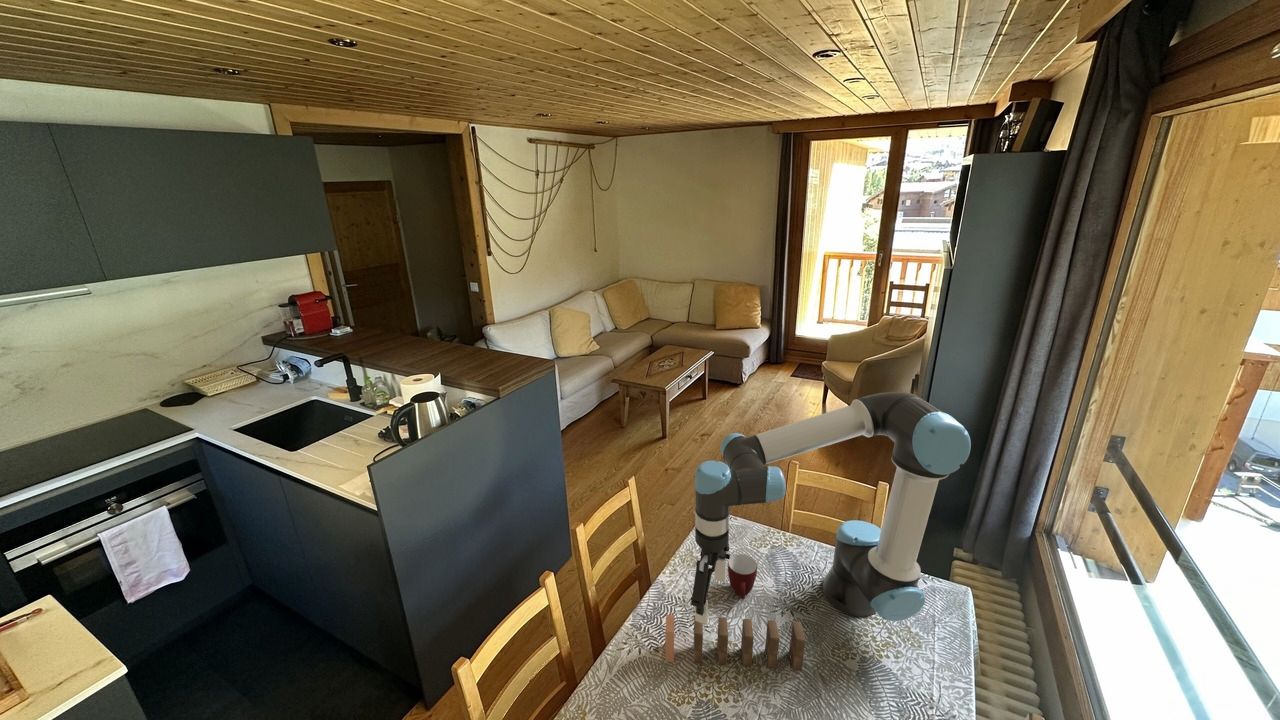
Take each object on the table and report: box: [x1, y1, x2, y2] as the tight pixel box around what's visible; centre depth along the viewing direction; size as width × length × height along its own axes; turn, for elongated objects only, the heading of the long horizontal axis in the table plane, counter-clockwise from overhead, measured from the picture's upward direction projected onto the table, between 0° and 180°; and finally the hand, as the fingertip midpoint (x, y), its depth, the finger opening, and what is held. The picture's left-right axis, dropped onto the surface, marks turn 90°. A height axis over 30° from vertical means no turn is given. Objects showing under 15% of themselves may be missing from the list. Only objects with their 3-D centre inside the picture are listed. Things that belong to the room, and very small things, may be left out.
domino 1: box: [664, 614, 675, 663], centre depth 123 cm, size 2×5×10 cm, turn 175°
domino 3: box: [716, 617, 729, 667], centre depth 121 cm, size 2×5×10 cm, turn 175°
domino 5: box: [764, 619, 780, 670], centre depth 120 cm, size 2×5×10 cm, turn 175°
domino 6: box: [788, 621, 806, 671], centre depth 120 cm, size 2×5×10 cm, turn 175°
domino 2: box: [693, 615, 704, 665], centre depth 122 cm, size 2×5×10 cm, turn 175°
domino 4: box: [740, 618, 755, 668], centre depth 121 cm, size 2×5×10 cm, turn 175°
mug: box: [727, 553, 758, 600], centre depth 140 cm, size 10×8×10 cm
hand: (711, 599), depth 118 cm, fingers open, 13 cm apart
